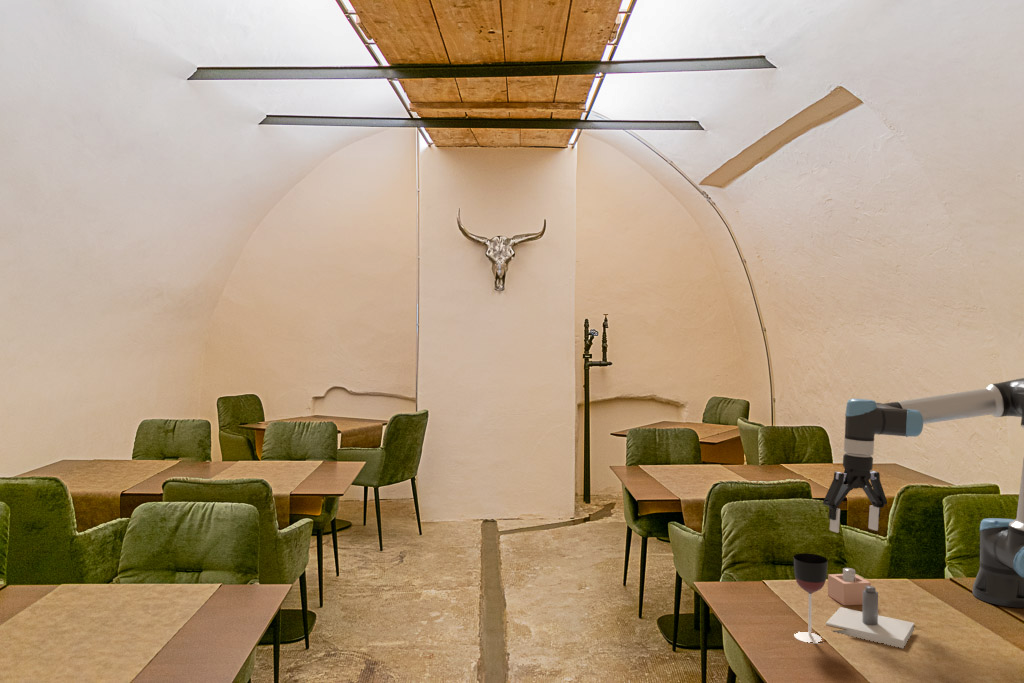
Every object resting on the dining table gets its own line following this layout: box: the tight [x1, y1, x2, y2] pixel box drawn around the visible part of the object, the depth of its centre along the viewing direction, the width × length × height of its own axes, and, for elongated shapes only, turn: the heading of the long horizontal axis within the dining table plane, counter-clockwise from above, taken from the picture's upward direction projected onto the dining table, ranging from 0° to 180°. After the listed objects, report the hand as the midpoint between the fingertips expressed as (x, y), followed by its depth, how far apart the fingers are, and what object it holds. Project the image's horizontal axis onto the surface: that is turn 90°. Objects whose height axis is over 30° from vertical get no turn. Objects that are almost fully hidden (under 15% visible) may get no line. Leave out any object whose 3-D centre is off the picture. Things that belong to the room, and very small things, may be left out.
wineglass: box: [793, 552, 828, 644], centre depth 189 cm, size 8×9×20 cm
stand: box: [842, 567, 856, 582], centre depth 211 cm, size 7×7×10 cm
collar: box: [827, 573, 872, 606], centre depth 211 cm, size 8×8×6 cm
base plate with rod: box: [825, 585, 915, 649], centre depth 193 cm, size 18×14×11 cm
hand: (853, 530), depth 208 cm, fingers open, 13 cm apart
